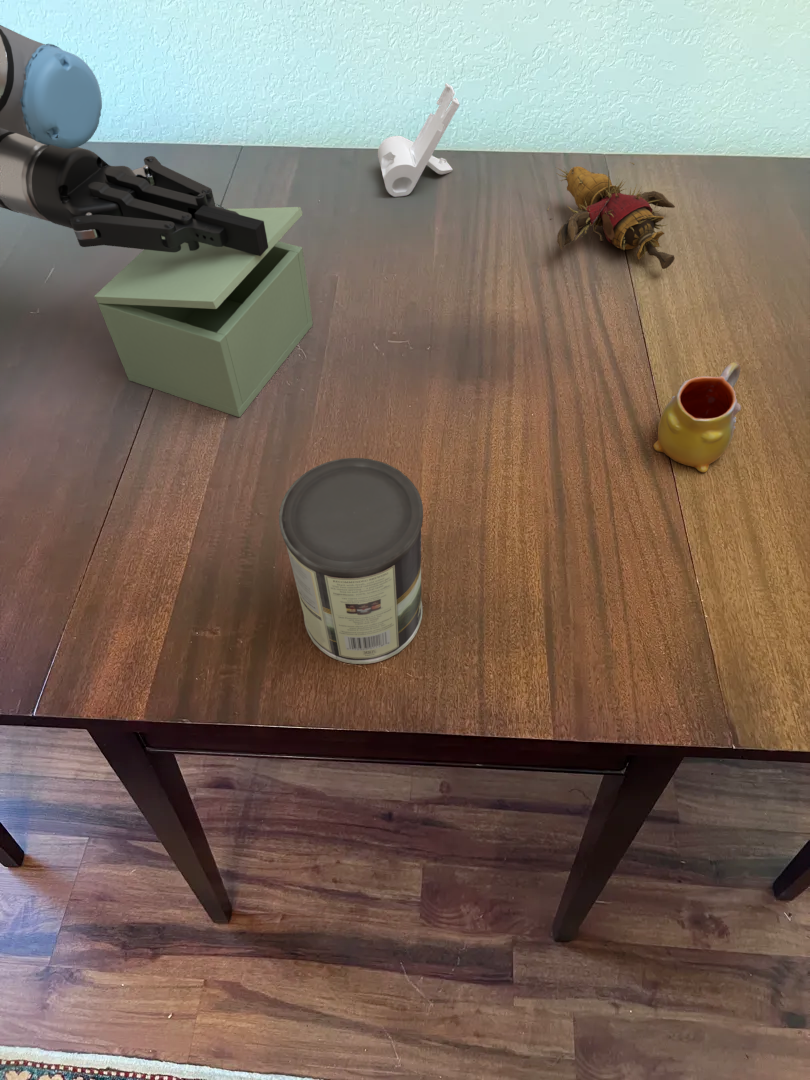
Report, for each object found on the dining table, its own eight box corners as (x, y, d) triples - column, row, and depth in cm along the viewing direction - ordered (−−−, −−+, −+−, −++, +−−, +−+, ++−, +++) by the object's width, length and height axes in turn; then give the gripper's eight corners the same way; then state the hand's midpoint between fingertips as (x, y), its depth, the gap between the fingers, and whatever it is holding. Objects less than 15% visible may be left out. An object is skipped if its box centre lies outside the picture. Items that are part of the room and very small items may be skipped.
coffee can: (379, 543, 71) (372, 436, 60) (446, 624, 66) (452, 525, 55) (280, 598, 68) (252, 496, 56) (342, 688, 63) (326, 597, 51)
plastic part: (378, 168, 108) (373, 79, 99) (449, 161, 109) (451, 72, 99) (385, 198, 104) (381, 107, 94) (458, 190, 104) (461, 99, 95)
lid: (303, 214, 78) (300, 206, 77) (216, 309, 69) (212, 301, 69) (189, 216, 84) (186, 209, 84) (98, 303, 76) (93, 296, 75)
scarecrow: (670, 207, 102) (688, 147, 96) (675, 282, 92) (695, 221, 86) (540, 196, 104) (549, 136, 97) (531, 268, 94) (540, 207, 88)
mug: (702, 483, 75) (724, 435, 69) (639, 448, 77) (656, 400, 72) (759, 414, 80) (784, 364, 74) (699, 384, 82) (718, 334, 77)
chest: (313, 324, 89) (302, 247, 81) (239, 417, 81) (219, 341, 72) (209, 294, 92) (188, 217, 84) (128, 380, 84) (97, 303, 76)
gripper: (109, 186, 84) (301, 236, 78) (28, 253, 77) (232, 314, 71) (84, 114, 78) (291, 163, 72) (-6, 180, 71) (214, 241, 65)
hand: (261, 238), depth 71 cm, fingers closed
